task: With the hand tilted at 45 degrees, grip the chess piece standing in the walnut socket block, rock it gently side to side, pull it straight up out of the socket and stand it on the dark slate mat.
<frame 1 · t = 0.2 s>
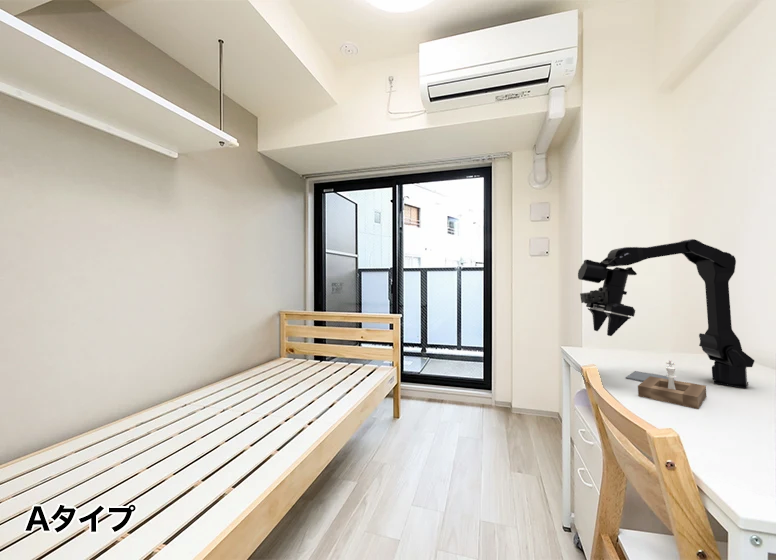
hand: (602, 333, 100), 16 cm above the table, tool pointing down, fingers open, 9 cm apart
chess piece: (672, 397, 85), resting in socket block
slate mat: (649, 378, 100), on the table
socket block: (672, 396, 85), on the table
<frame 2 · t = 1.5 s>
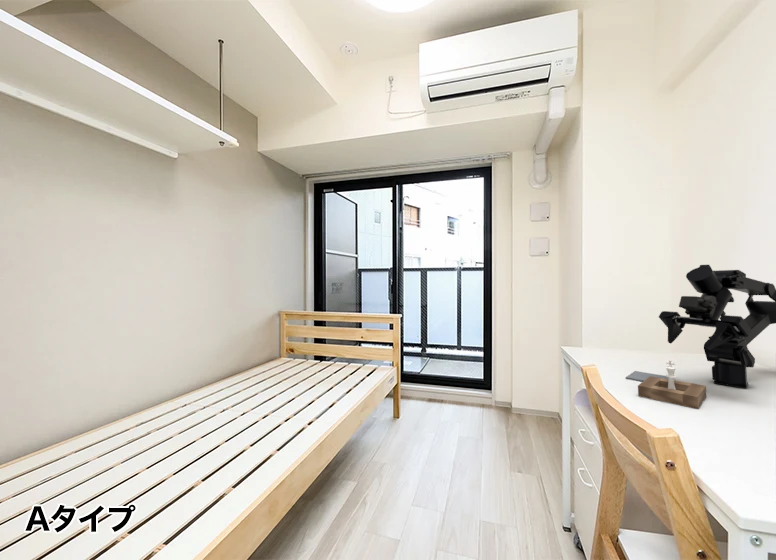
hand: (687, 345, 88), 13 cm above the table, tool tilted 45°, fingers open, 9 cm apart
nothing on the table moved.
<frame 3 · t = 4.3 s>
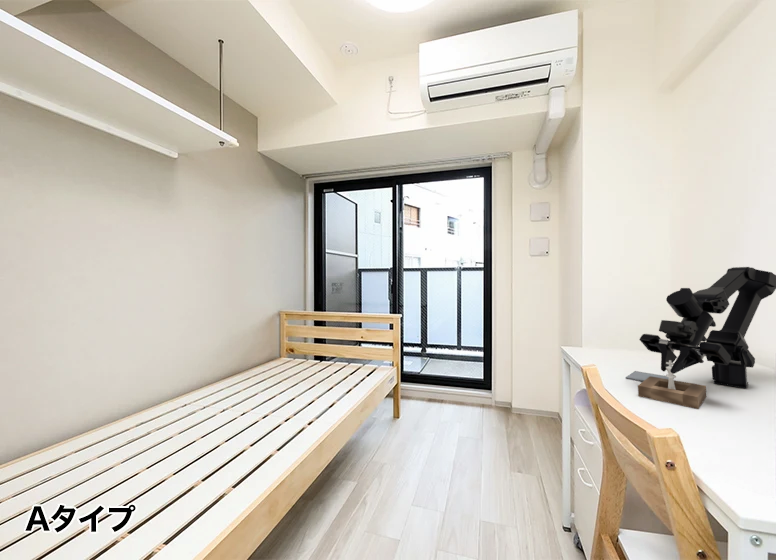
hand: (667, 371, 85), 7 cm above the table, tool tilted 45°, fingers closed on chess piece
chess piece: (672, 397, 85), resting in socket block, touching gripper
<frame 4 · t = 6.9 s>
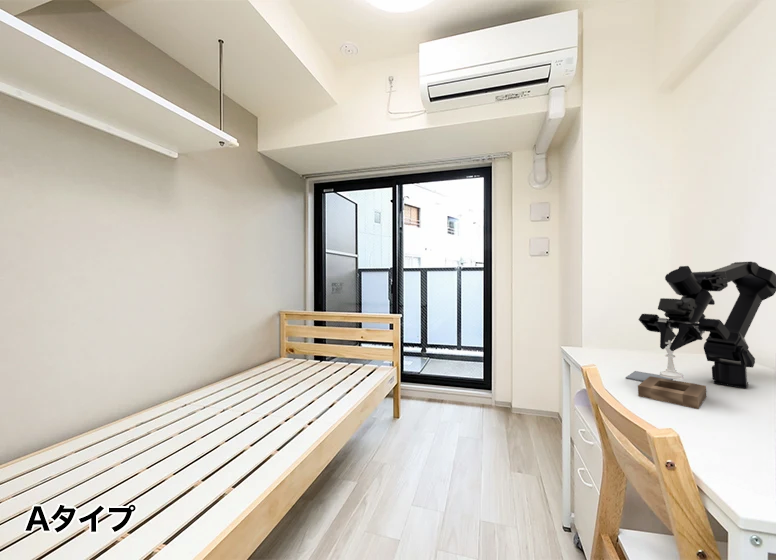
hand: (666, 349, 85), 13 cm above the table, tool tilted 45°, fingers closed on chess piece
chess piece: (671, 377, 85), point 5 cm above the table, touching gripper
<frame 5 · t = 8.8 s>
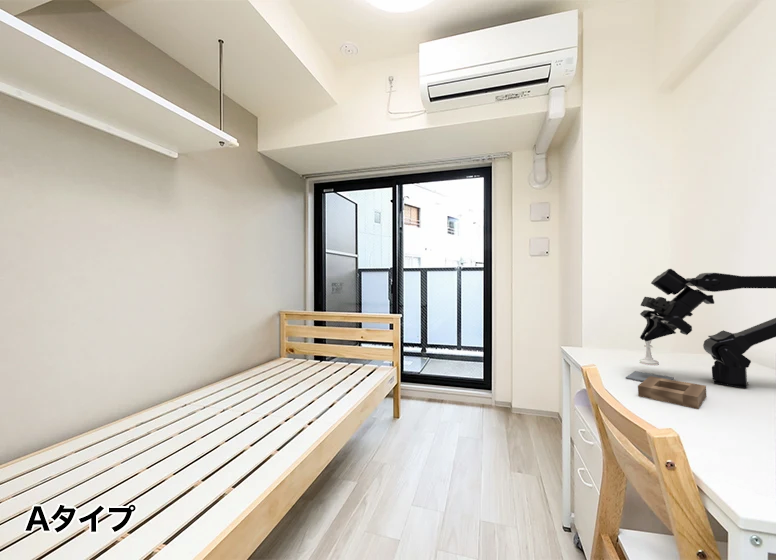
hand: (642, 339, 101), 13 cm above the table, tool tilted 45°, fingers closed on chess piece
chess piece: (649, 364, 100), point 5 cm above the table, touching gripper
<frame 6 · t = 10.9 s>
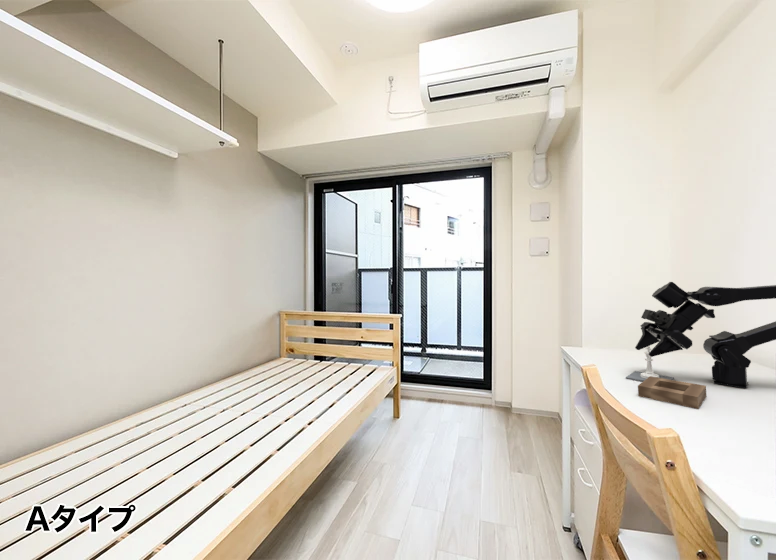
hand: (642, 352, 101), 9 cm above the table, tool tilted 45°, fingers open, 9 cm apart
chess piece: (650, 377, 100), resting on slate mat
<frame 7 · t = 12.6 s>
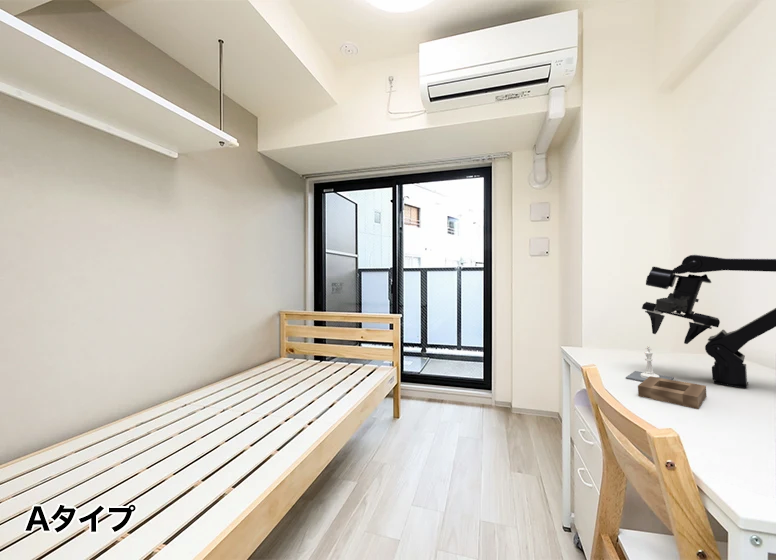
hand: (669, 338, 101), 13 cm above the table, tool tilted 20°, fingers open, 9 cm apart
nothing on the table moved.
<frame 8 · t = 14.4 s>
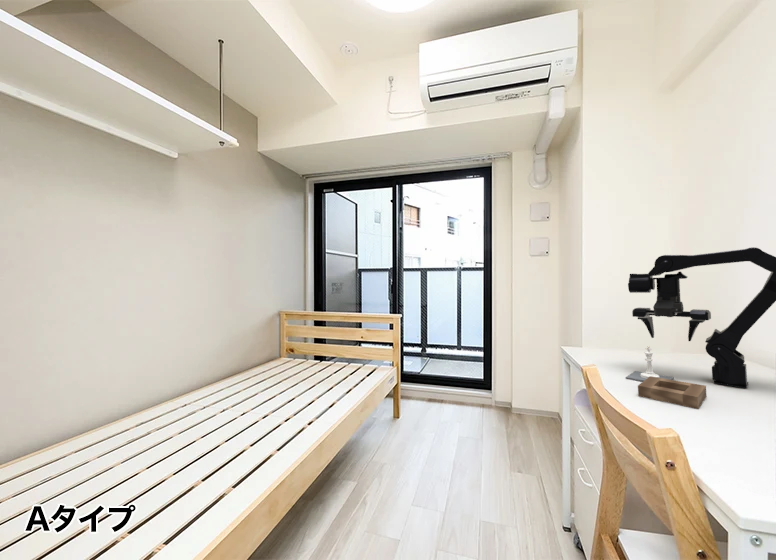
hand: (670, 339, 103), 12 cm above the table, tool pointing down, fingers open, 9 cm apart
nothing on the table moved.
at the end: chess piece inside the target area on the slate mat (0.1 cm from its centre), point 0.3 cm above the slate mat's base; chess piece tilted 0°; the gripper is holding nothing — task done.
